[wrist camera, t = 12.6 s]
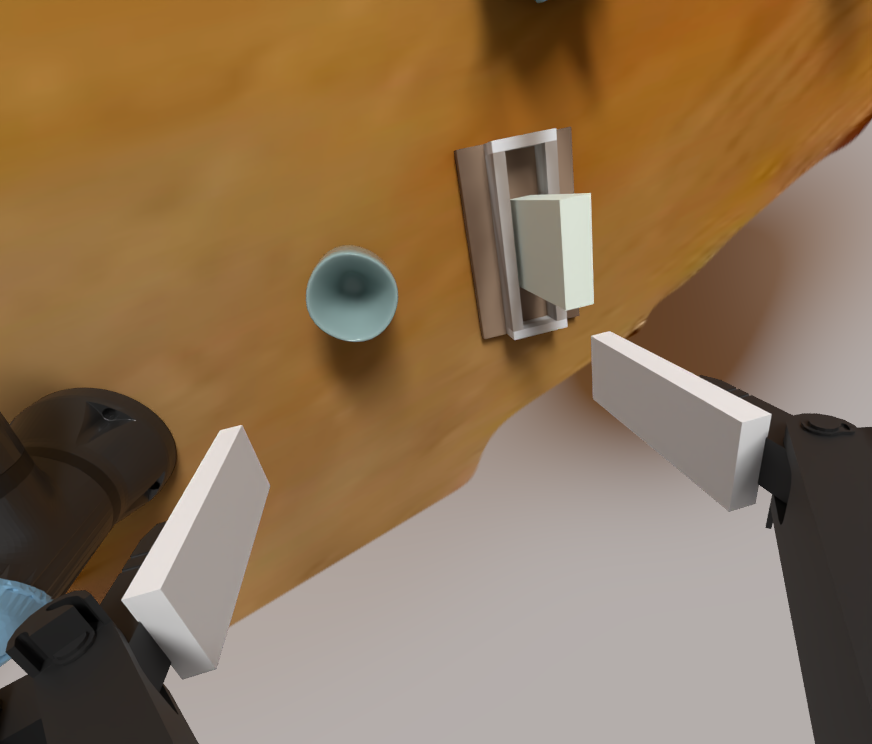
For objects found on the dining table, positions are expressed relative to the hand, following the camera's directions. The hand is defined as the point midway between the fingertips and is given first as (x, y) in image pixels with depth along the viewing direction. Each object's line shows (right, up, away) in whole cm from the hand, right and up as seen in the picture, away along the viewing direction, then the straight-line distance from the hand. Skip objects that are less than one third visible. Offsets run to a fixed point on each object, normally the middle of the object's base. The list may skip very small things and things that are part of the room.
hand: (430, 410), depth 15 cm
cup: (-9, +11, +29) cm, 32 cm away
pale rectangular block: (+10, +16, +29) cm, 35 cm away
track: (+10, +16, +30) cm, 36 cm away
